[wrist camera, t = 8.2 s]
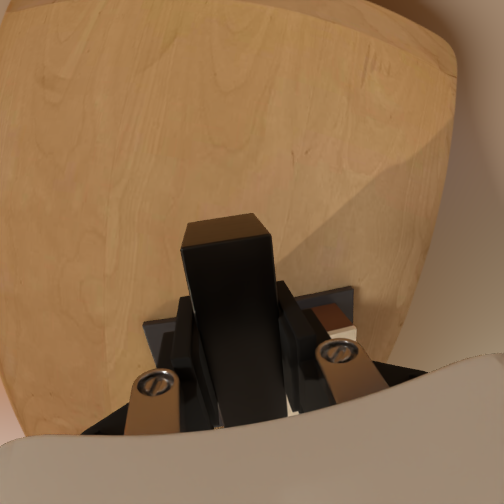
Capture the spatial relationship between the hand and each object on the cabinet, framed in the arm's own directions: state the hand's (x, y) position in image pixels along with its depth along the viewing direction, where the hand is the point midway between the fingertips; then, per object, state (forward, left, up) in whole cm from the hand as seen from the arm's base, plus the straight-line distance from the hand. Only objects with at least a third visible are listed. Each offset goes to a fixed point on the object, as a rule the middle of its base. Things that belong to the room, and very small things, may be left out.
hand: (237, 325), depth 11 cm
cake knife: (+5, 0, -1) cm, 5 cm away
